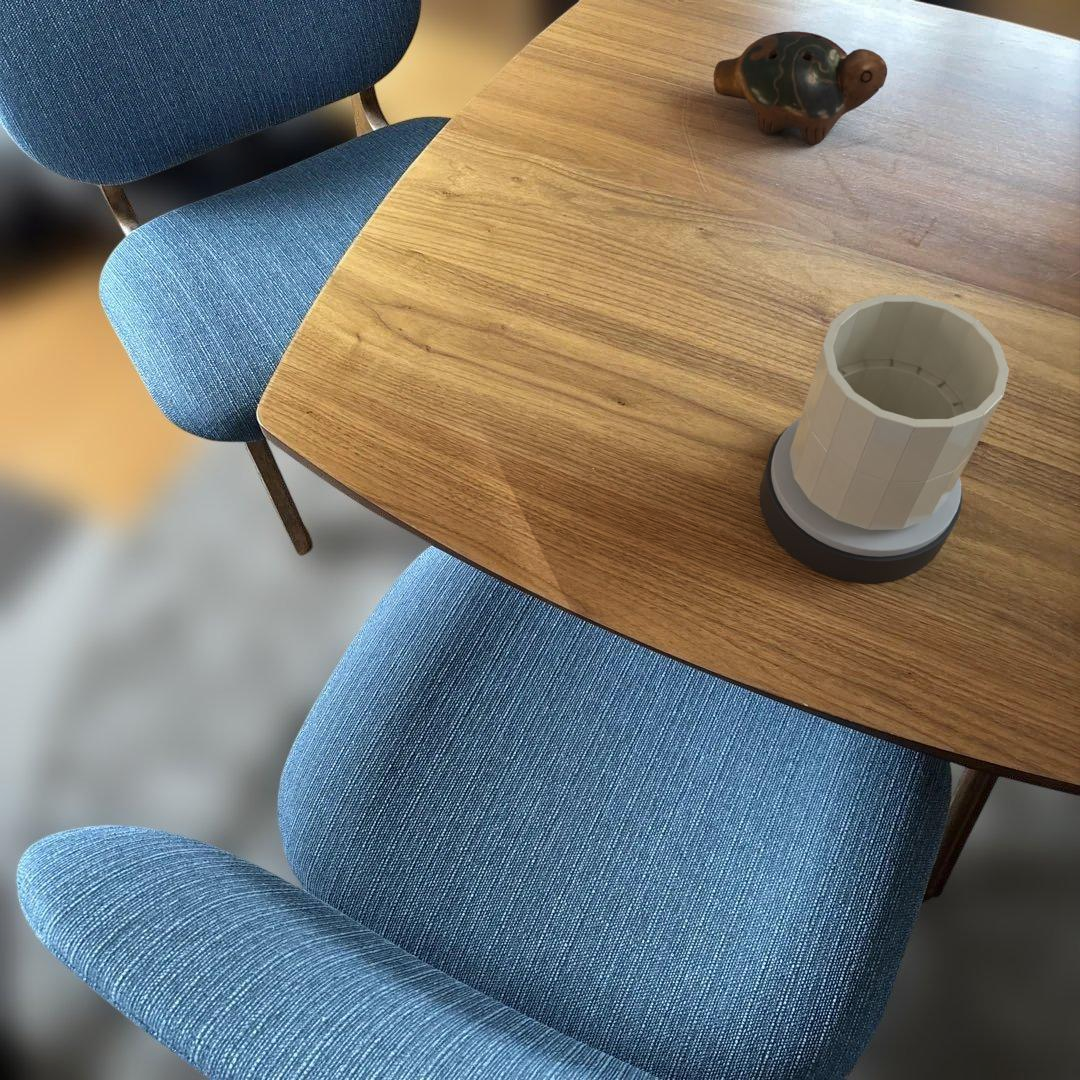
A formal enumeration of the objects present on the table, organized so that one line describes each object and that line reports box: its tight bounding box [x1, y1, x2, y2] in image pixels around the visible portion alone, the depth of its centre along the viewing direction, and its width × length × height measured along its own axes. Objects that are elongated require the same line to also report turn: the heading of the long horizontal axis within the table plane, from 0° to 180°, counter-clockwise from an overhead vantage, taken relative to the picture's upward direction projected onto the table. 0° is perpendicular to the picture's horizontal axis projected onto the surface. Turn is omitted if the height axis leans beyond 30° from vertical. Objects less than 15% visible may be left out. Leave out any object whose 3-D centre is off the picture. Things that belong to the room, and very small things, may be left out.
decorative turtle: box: [713, 30, 888, 146], centre depth 93 cm, size 10×15×8 cm, turn 74°
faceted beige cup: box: [790, 294, 1010, 530], centre depth 64 cm, size 10×10×11 cm
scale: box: [759, 416, 963, 584], centre depth 70 cm, size 13×13×4 cm
